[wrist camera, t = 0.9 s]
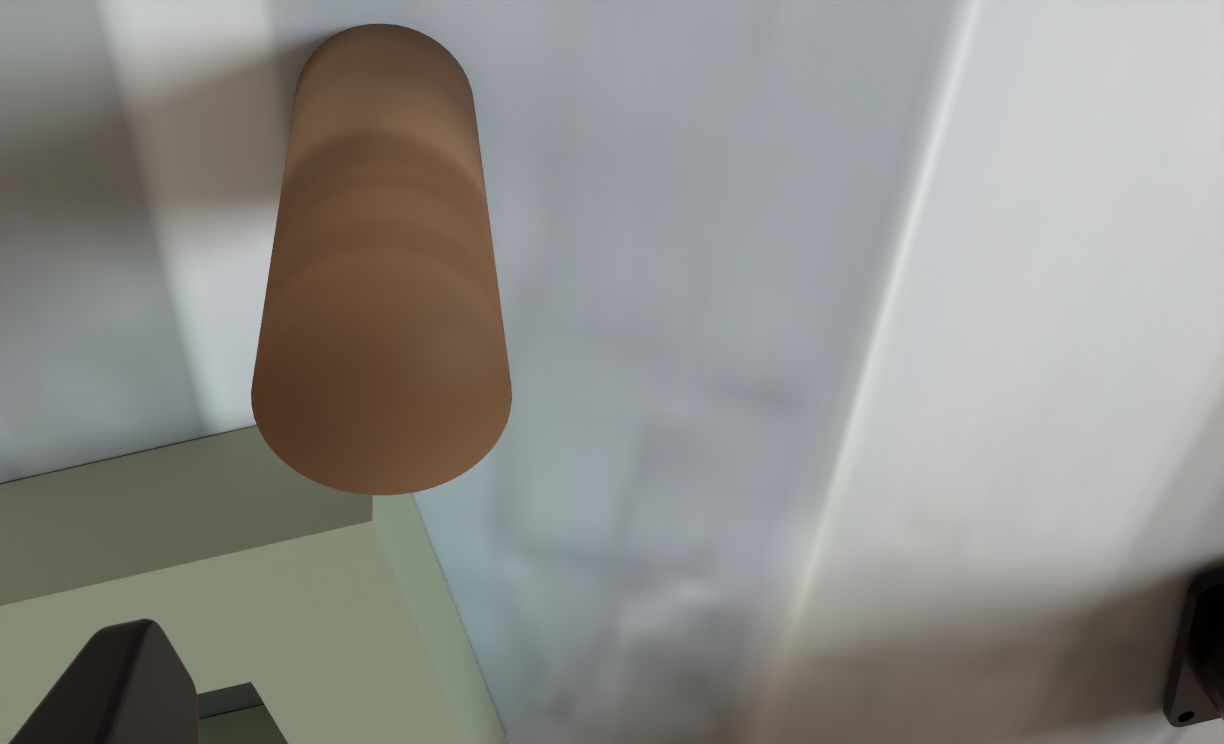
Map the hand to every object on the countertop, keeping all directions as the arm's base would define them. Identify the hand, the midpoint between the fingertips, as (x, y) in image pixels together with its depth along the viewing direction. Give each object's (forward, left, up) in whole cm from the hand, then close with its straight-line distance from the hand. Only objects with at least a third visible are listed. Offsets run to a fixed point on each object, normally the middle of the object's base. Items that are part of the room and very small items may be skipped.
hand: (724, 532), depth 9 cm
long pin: (-1, +3, -13) cm, 13 cm away
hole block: (-13, +11, -13) cm, 22 cm away
